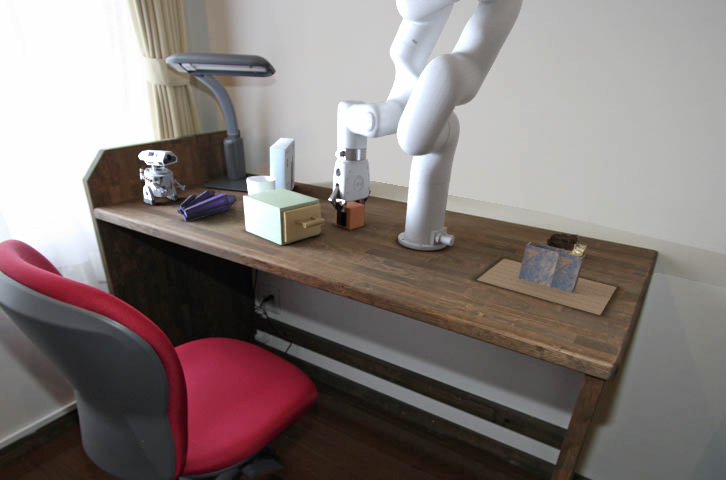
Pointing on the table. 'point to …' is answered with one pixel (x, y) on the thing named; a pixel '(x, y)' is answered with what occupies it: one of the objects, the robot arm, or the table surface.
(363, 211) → the plain salmon cube
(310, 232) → the drawer
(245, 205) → the cabinet
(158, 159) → the figurine
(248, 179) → the white cup
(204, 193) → the crystal
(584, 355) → the table surface
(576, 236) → the rock sample
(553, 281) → the ruin model on sheet
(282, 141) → the skincare box
